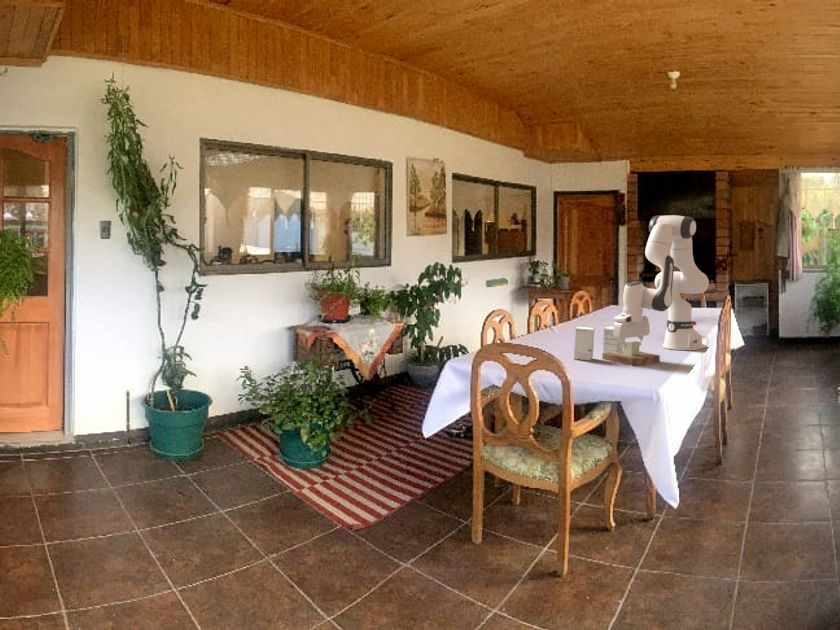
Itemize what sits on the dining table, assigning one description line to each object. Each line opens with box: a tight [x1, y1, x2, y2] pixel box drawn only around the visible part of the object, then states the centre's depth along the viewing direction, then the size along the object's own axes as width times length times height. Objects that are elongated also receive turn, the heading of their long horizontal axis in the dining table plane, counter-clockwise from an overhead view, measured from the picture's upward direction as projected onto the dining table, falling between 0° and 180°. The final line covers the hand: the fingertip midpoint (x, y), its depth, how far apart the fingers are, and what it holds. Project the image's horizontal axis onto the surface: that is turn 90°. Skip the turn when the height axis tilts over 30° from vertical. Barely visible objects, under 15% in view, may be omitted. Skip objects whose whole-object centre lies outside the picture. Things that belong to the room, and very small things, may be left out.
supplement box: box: [602, 325, 623, 354], centre depth 346 cm, size 7×7×13 cm
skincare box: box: [573, 326, 596, 361], centre depth 331 cm, size 8×6×15 cm
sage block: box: [623, 339, 640, 356], centre depth 327 cm, size 5×5×6 cm
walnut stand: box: [602, 350, 661, 367], centre depth 328 cm, size 18×18×3 cm
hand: (631, 346), depth 327 cm, fingers open, 8 cm apart
